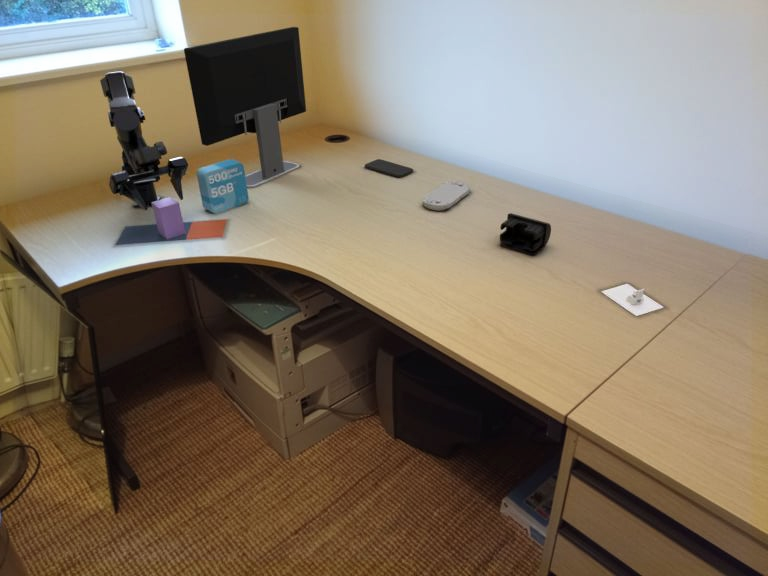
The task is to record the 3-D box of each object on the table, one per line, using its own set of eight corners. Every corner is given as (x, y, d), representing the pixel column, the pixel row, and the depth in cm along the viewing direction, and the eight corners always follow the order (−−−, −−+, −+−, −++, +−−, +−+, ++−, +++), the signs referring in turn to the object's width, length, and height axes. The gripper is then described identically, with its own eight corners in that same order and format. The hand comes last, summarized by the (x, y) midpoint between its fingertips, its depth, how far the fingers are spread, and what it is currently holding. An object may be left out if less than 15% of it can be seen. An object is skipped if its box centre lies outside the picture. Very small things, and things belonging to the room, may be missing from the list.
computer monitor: (301, 153, 200) (288, 26, 179) (320, 158, 195) (309, 27, 174) (206, 193, 172) (177, 47, 151) (226, 199, 168) (199, 50, 147)
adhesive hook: (633, 307, 116) (637, 293, 115) (624, 300, 118) (627, 287, 117) (645, 303, 117) (649, 290, 116) (636, 297, 119) (639, 283, 118)
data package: (212, 215, 158) (204, 173, 152) (203, 210, 161) (195, 169, 155) (249, 202, 166) (243, 161, 159) (240, 197, 168) (234, 157, 162)
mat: (115, 246, 144) (114, 245, 144) (125, 227, 153) (125, 226, 153) (222, 238, 147) (222, 236, 147) (227, 220, 156) (226, 219, 155)
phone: (399, 176, 178) (363, 164, 186) (399, 178, 178) (363, 167, 186) (414, 169, 182) (378, 158, 191) (414, 171, 183) (378, 161, 191)
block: (158, 233, 149) (150, 202, 145) (177, 227, 152) (170, 196, 148) (166, 239, 146) (159, 208, 142) (185, 233, 149) (178, 202, 144)
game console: (445, 205, 154) (418, 199, 158) (445, 214, 155) (418, 208, 159) (474, 183, 167) (448, 178, 171) (474, 191, 168) (448, 186, 172)
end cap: (549, 245, 139) (553, 219, 136) (535, 257, 134) (539, 230, 131) (511, 234, 145) (513, 209, 141) (497, 245, 140) (499, 219, 136)
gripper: (99, 141, 135) (129, 199, 133) (177, 124, 145) (205, 178, 143) (98, 165, 144) (126, 220, 142) (170, 148, 154) (197, 199, 153)
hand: (164, 204), depth 145 cm, fingers open, 9 cm apart
